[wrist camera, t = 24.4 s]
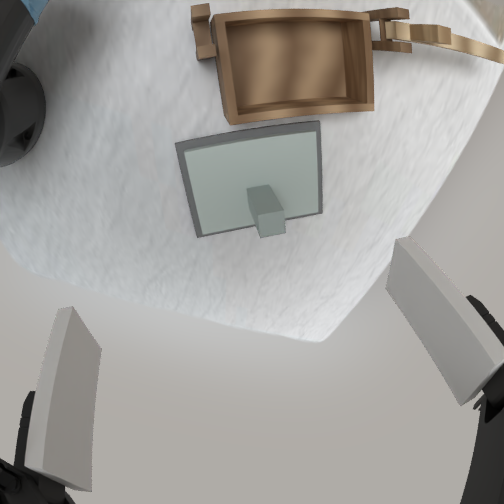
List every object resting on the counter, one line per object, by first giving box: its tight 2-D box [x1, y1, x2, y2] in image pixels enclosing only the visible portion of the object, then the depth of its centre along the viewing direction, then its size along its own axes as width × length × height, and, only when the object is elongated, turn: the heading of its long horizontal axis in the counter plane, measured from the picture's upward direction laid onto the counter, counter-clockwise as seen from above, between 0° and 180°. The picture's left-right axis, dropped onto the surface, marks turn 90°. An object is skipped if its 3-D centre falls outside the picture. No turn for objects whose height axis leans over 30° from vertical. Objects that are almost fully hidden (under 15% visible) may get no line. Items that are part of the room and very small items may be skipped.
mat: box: [175, 120, 322, 238], centre depth 44 cm, size 20×15×1 cm
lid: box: [184, 130, 318, 238], centre depth 40 cm, size 18×13×9 cm
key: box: [385, 21, 504, 64], centre depth 24 cm, size 23×2×7 cm, turn 97°
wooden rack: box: [191, 3, 412, 125], centre depth 30 cm, size 23×14×12 cm, turn 97°
